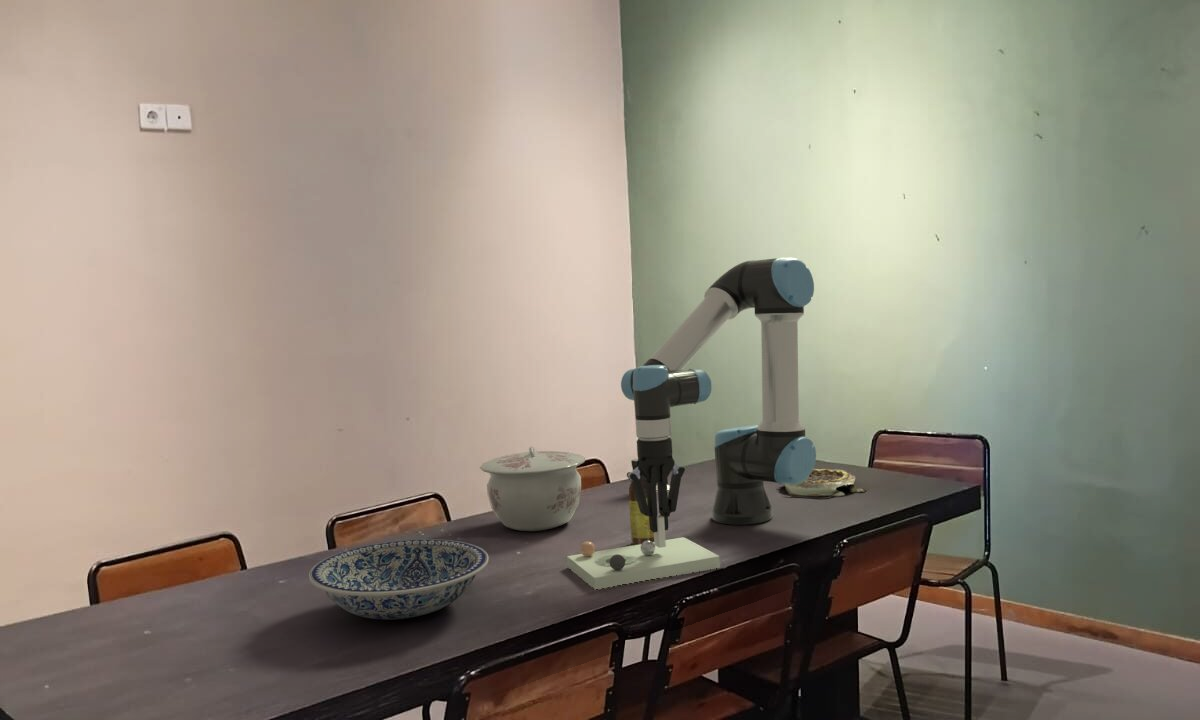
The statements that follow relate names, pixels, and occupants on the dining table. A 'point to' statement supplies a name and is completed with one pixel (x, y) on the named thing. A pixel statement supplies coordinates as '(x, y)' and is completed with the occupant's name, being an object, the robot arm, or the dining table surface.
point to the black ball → (617, 562)
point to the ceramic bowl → (399, 576)
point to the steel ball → (647, 548)
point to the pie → (824, 484)
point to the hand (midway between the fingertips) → (660, 545)
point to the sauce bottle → (639, 515)
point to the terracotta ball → (587, 548)
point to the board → (643, 563)
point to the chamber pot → (534, 488)
